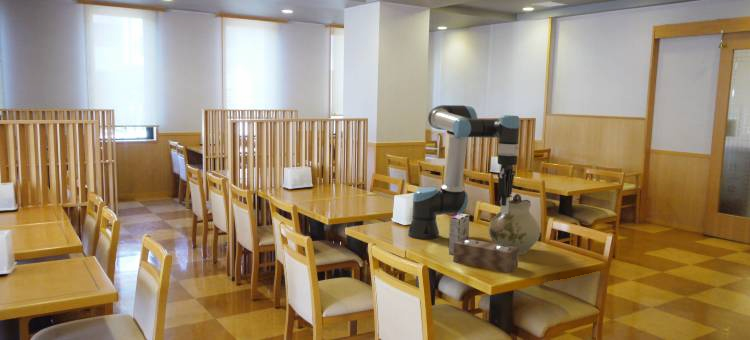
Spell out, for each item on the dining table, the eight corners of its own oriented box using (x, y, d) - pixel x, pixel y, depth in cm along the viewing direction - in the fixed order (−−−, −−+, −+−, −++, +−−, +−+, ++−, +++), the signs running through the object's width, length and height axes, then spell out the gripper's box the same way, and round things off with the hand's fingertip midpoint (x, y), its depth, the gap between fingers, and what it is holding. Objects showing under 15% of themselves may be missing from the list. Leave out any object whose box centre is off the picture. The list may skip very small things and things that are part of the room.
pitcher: (506, 259, 242) (510, 201, 239) (476, 246, 264) (479, 192, 261) (549, 256, 251) (553, 200, 248) (516, 243, 272) (520, 191, 270)
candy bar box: (458, 248, 259) (459, 213, 257) (468, 250, 256) (470, 214, 254) (447, 253, 249) (449, 217, 247) (458, 255, 247) (460, 218, 244)
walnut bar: (453, 261, 237) (454, 242, 236) (463, 256, 246) (464, 238, 245) (508, 272, 224) (509, 252, 223) (517, 266, 232) (518, 247, 231)
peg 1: (461, 258, 238) (462, 241, 237) (466, 256, 242) (467, 238, 241) (472, 260, 235) (473, 243, 234) (477, 258, 239) (478, 240, 238)
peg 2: (493, 264, 230) (494, 246, 229) (497, 262, 234) (499, 244, 233) (505, 267, 227) (506, 248, 227) (509, 264, 232) (510, 246, 231)
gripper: (510, 156, 218) (507, 217, 221) (522, 154, 229) (519, 212, 232) (492, 154, 222) (489, 214, 225) (504, 152, 233) (501, 209, 236)
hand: (504, 213), depth 228 cm, fingers closed
